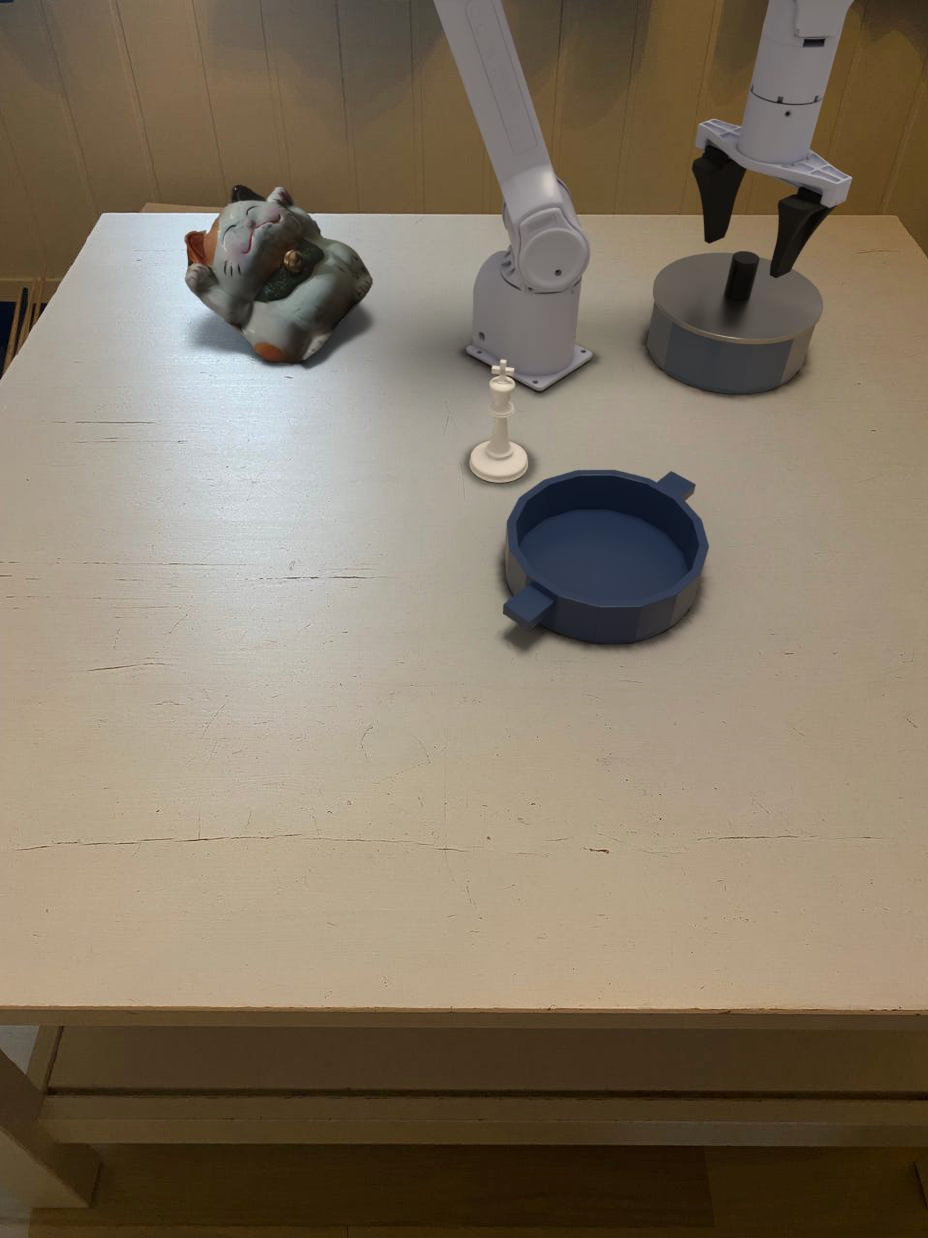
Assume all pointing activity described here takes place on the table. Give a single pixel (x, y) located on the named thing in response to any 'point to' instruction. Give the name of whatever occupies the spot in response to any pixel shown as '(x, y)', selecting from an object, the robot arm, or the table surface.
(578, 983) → the table surface
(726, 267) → the lid
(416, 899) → the table surface
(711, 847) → the table surface
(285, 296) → the lucky cat figurine
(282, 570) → the table surface
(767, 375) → the pot
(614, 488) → the pan
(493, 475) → the chess piece
